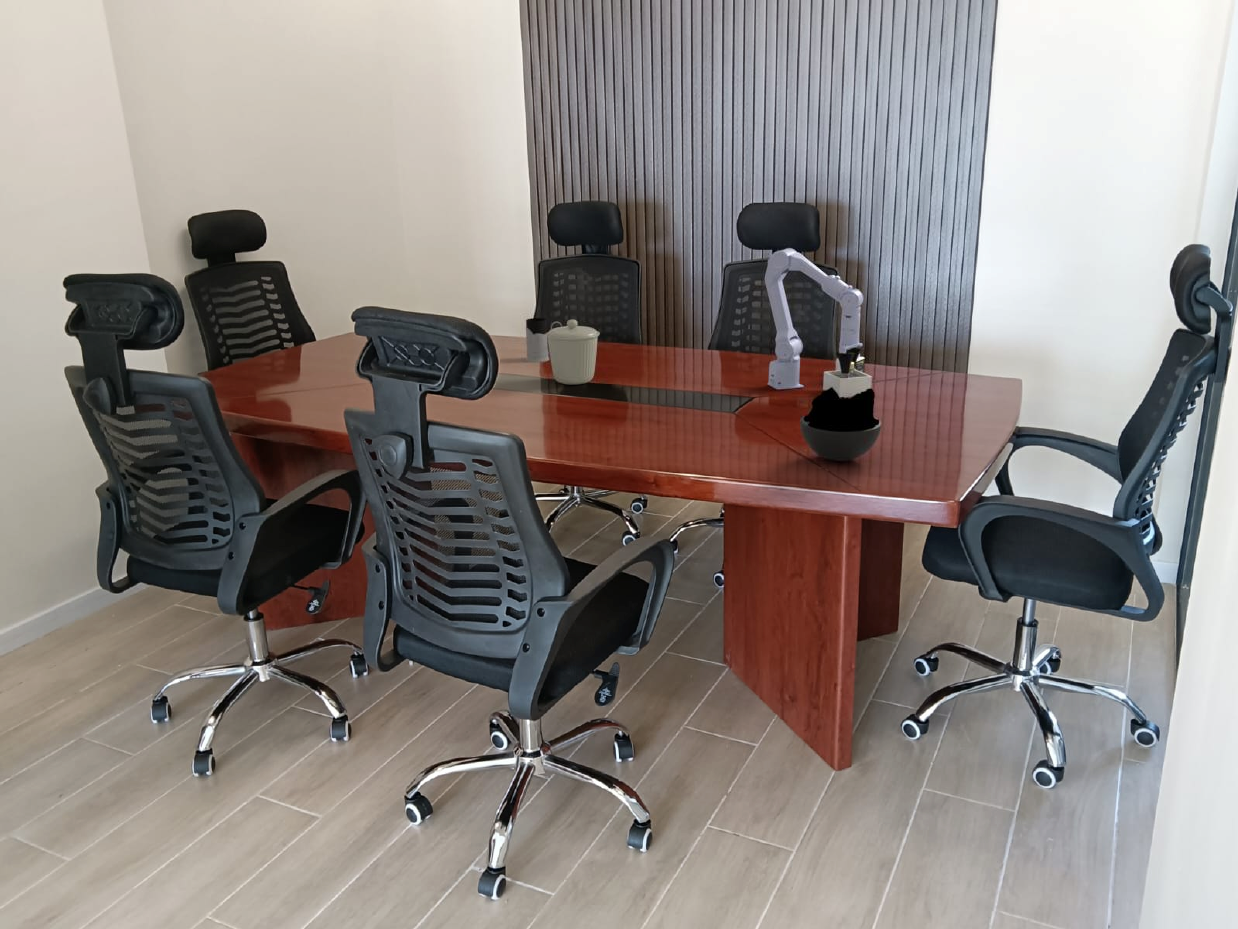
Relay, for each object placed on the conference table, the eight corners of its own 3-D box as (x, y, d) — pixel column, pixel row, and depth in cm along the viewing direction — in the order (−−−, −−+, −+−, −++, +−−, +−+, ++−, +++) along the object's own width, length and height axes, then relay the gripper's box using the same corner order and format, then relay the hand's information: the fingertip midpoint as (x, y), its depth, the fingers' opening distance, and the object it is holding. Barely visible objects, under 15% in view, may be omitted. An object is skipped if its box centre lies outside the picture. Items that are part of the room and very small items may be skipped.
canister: (608, 384, 336) (607, 321, 330) (556, 389, 330) (554, 326, 324) (589, 373, 352) (588, 313, 346) (540, 378, 346) (538, 317, 340)
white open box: (839, 397, 314) (840, 379, 313) (823, 389, 325) (823, 371, 323) (870, 395, 317) (871, 376, 315) (853, 387, 327) (854, 369, 325)
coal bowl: (785, 463, 253) (788, 390, 247) (817, 443, 268) (820, 374, 263) (861, 476, 242) (866, 400, 236) (890, 455, 258) (895, 383, 252)
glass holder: (523, 358, 379) (522, 318, 374) (560, 355, 383) (559, 316, 378) (528, 362, 371) (527, 322, 366) (566, 359, 375) (564, 319, 370)
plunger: (841, 383, 314) (842, 366, 313) (827, 377, 323) (828, 360, 321) (867, 381, 317) (868, 364, 315) (853, 375, 325) (854, 358, 323)
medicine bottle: (854, 382, 334) (856, 346, 331) (834, 379, 338) (836, 344, 335) (863, 377, 340) (865, 342, 336) (844, 375, 344) (846, 340, 340)
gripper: (855, 333, 307) (853, 377, 311) (869, 326, 319) (866, 368, 323) (833, 332, 310) (831, 375, 314) (847, 324, 322) (845, 366, 326)
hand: (847, 371), depth 319 cm, fingers open, 5 cm apart
